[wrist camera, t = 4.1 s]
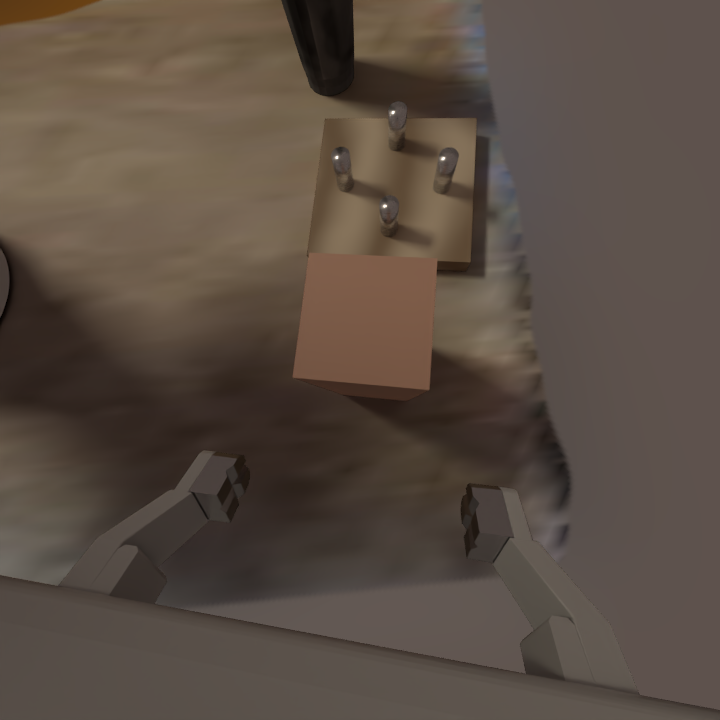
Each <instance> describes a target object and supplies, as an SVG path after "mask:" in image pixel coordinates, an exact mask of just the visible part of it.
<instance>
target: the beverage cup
mask: <svg viewBox="0 0 720 720" xmlns="http://www.w3.org/2000/svg"><path fill="white" fill-rule="evenodd" d="M281 1H282V4H283V7H284V10H285V13H286V16H287V19H288V22H289V26H290V29H291V32H292V35H293V38H294V41H295V44H296V47H297V50H298V53H299V56H300V59H301V62H302V65H303V68H304V70H305V72H306V75H307V78H308V82H309V84H310V87H311V88H312V89H313V90H314V91H315V92H316V93H318V94H320V95H326V96H329V95H336V94H338V93H341V92H343V91H344V90H345V89H347V88H348V87H349V85H350V84H351V83H352V80H353V78H354V29H353V0H281Z"/></svg>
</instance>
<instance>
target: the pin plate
mask: <svg viewBox="0 0 720 720" xmlns="http://www.w3.org/2000/svg"><path fill="white" fill-rule="evenodd" d="M476 124H477V118H407V106H406V104H405V103H403V102H400V101H397V102H394V103H392V104H391V105H390V106H389V109H388V118H365V119H325V124H324V131H323V139H322V146H321V153H320V161H319V168H318V176H317V183H316V191H315V198H314V205H313V213H312V220H311V228H310V235H309V243H308V250H307V256H308V258H309V253H328V254H351V255H373V256H396V257H418V258H437V270H451V271H466V270H467V268H468V266H469V264H470V263H471V241H472V218H473V194H474V171H475V147H476Z"/></svg>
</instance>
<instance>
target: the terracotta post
mask: <svg viewBox="0 0 720 720" xmlns="http://www.w3.org/2000/svg"><path fill="white" fill-rule="evenodd" d="M436 275H437V258H418V257H396V256H373V255H351V254H328V253H309V258H308V265H307V273H306V280H305V288H304V295H303V303H302V310H301V318H300V325H299V333H298V340H297V348H296V355H295V363H294V370H293V378H295V379H298V380H301V381H304V382H307V383H310V384H313V385H315V386H318V387H321V388H324V389H327V390H330V391H333V392H336V393H339V394H342V395H347V396H358V397H368V398H379V399H389V400H400V401H408V400H410V399H412V398H414V397H416V396H418V395H420V394H422V393H424V392H426V391H428V390H429V389H430V373H431V356H432V340H433V324H434V307H435V291H436Z"/></svg>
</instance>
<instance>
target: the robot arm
mask: <svg viewBox="0 0 720 720" xmlns="http://www.w3.org/2000/svg"><path fill="white" fill-rule="evenodd" d="M8 291H9V269H8V264H7V261H6V258H5V256H4V254H3V252H2V250H1V249H0V317H1V315H2V313H3V310H4V307H5V304H6V301H7V297H8ZM245 462H246V460H245V457H244V455H237V454H230V453H222V452H216V451H207V450H203V451H202V452H201V453H199V454H198V456H197V457H196V459H195V460H194V462H193V463H192V465H191V466H190V467H189V469H188V470H187V472H186V473H185V475H184V476H183V478H182V479H181V480H180V482H179V483H178V485H177V486H176V488H175V489H174V490H169V491H167V492H166V493H164V494H163V495H161V496H160V497H158V498H157V499H155V500H154V501H152V502H151V503H149V504H148V505H146V506H144V507H143V508H141V509H140V510H138V511H137V512H135V513H134V514H132V515H131V516H129V517H128V518H126V519H125V520H123V521H122V522H120V523H119V524H117V525H116V526H114V527H113V528H111V529H110V530H108V531H107V532H105V533H104V534H102V535H101V536H99V537H98V538H96V539H95V541H94V542H93V543H92V544H91V546H90V547H89V548H88V549H87V551H86V552H85V553H84V554H83V556H82V557H81V558H80V559H79V561H78V562H77V563H76V564H75V566H74V567H73V568H72V569H71V571H70V572H69V573H68V574H67V576H66V577H65V578H64V579H63V581H62V582H61V583H60V584H59V585H58V586H55V585H50V584H44V583H39V582H34V581H28V580H23V579H18V578H12V577H7V576H2V575H0V720H720V710H716V709H711V708H705V707H700V706H695V705H689V704H684V703H678V702H673V701H668V700H662V699H657V698H652V697H647V696H642V695H639V692H638V690H637V687H636V685H635V682H634V680H633V678H632V675H631V673H630V671H629V668H628V666H627V664H626V661H625V658H624V656H623V654H622V651H621V649H620V647H619V644H618V642H617V639H616V637H615V634H614V632H613V630H612V627H611V625H610V624H609V622H608V621H607V620H606V619H605V617H604V616H603V615H602V614H601V613H600V612H599V611H598V610H597V608H596V607H595V606H594V605H593V604H592V603H591V602H590V600H589V599H588V598H587V597H586V596H585V595H584V594H583V593H582V591H581V590H580V589H579V588H578V587H577V586H576V584H575V583H574V582H573V581H572V580H571V579H570V578H569V576H568V575H567V574H566V573H565V572H564V571H563V570H562V569H561V567H560V566H559V565H558V564H557V563H556V562H555V561H554V559H553V558H552V557H551V556H550V555H549V554H548V553H547V551H546V550H545V549H544V548H543V547H542V546H541V545H540V544H539V542H537V541H533V539H532V536H531V533H530V530H529V526H528V523H527V520H526V517H525V514H524V511H523V507H522V504H521V501H520V498H519V495H518V492H517V491H516V489H514V488H506V487H498V486H491V485H482V484H472V483H469V484H467V487H466V494H465V495H464V496H463V497H462V501H461V521H462V524H463V526H464V527H465V528H466V533H465V535H464V543H465V550H466V557H467V559H473V560H478V561H484V562H490V563H494V564H493V566H494V567H495V569H496V570H497V572H498V573H499V575H500V577H501V578H502V580H503V581H504V583H505V584H506V586H507V587H508V589H509V591H510V592H511V594H512V595H513V597H514V599H515V600H516V602H517V603H518V605H519V607H520V608H521V610H522V611H523V613H524V614H525V616H526V618H527V619H528V621H529V622H530V624H531V625H532V627H533V628H534V631H533V632H531V633H530V634H529V635H528V636H527V637H526V638H524V639H523V640H522V642H521V643H520V647H521V652H522V656H523V661H524V666H525V671H526V674H523V673H519V672H513V671H508V670H503V669H498V668H492V667H487V666H481V665H476V664H471V663H466V662H460V661H455V660H449V659H444V658H439V657H434V656H428V655H423V654H418V653H412V652H407V651H402V650H396V649H391V648H385V647H380V646H375V645H370V644H364V643H359V642H354V641H348V640H343V639H337V638H332V637H327V636H321V635H316V634H311V633H306V632H300V631H295V630H290V629H284V628H279V627H274V626H268V625H263V624H257V623H252V622H247V621H241V620H236V619H231V618H226V617H220V616H215V615H210V614H204V613H199V612H194V611H188V610H183V609H178V608H172V607H167V606H162V605H156V604H155V602H156V600H157V598H158V596H159V595H160V593H161V591H162V589H163V587H164V585H165V584H166V582H167V580H166V576H165V575H164V574H163V573H162V572H161V571H160V570H159V569H158V567H159V566H160V565H161V564H162V563H163V562H165V561H166V560H167V559H168V558H169V557H170V556H171V555H172V554H173V553H174V552H175V551H177V550H178V549H179V548H180V547H181V546H182V545H183V544H184V543H185V542H186V541H188V540H189V539H190V538H191V537H192V536H193V535H194V534H195V533H196V532H197V531H198V530H200V529H201V528H202V527H203V526H204V525H205V524H206V523H207V522H208V520H212V521H220V522H229V523H231V521H232V519H233V516H234V514H235V512H236V510H237V508H238V506H239V501H238V498H239V497H240V496H242V495H243V494H244V493H245V491H246V489H247V487H248V484H249V480H250V471H249V468H248V467H247V466H245V465H244V464H245Z"/></svg>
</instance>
